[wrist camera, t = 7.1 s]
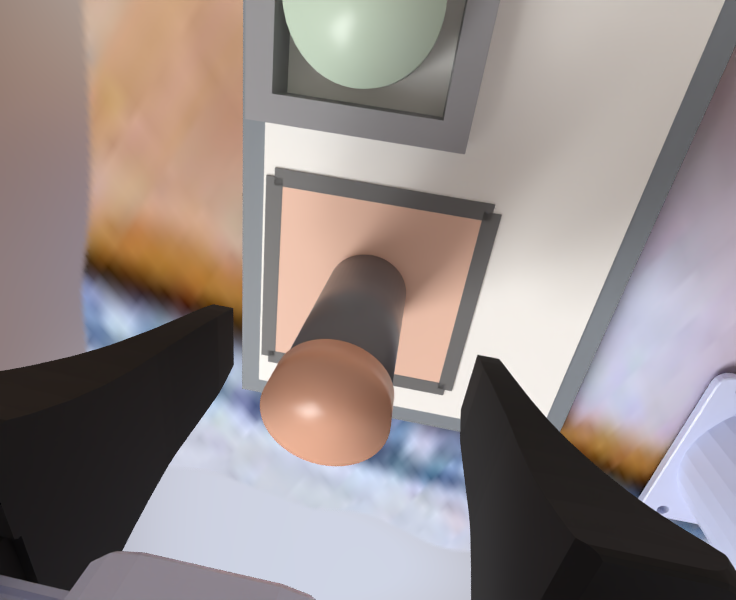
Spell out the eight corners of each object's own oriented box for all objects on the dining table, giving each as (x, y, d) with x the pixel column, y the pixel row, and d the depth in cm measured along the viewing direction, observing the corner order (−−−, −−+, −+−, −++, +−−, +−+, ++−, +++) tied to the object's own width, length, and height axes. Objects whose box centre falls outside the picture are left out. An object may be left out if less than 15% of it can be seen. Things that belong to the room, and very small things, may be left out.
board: (810, -167, 11) (909, -232, 8) (546, 435, 20) (561, 479, 18) (257, -230, 11) (214, -305, 9) (249, 376, 21) (227, 412, 18)
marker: (401, 334, 17) (380, 477, 11) (322, 319, 17) (258, 451, 11) (416, 260, 16) (401, 378, 10) (329, 244, 16) (260, 350, 10)
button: (461, -78, 11) (466, -102, 9) (429, 97, 13) (429, 100, 11) (304, -99, 11) (286, -126, 10) (295, 77, 13) (278, 76, 11)
